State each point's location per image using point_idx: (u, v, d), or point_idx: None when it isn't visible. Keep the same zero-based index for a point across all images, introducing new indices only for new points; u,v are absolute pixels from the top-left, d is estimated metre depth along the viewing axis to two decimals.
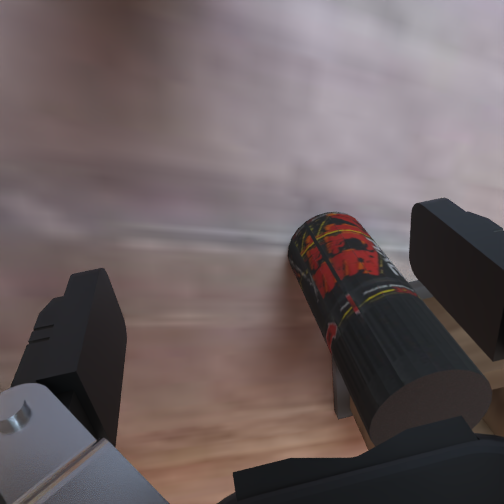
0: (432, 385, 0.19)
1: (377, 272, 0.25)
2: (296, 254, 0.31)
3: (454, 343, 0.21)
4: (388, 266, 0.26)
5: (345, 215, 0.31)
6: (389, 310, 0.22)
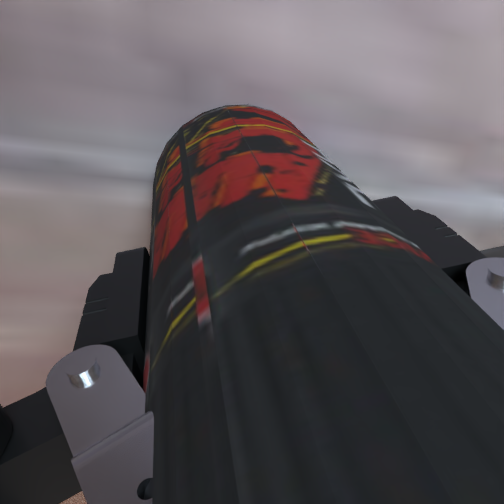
0: None
1: (305, 193, 0.08)
2: (154, 192, 0.14)
3: None
4: (345, 186, 0.09)
5: (267, 111, 0.14)
6: (317, 307, 0.05)
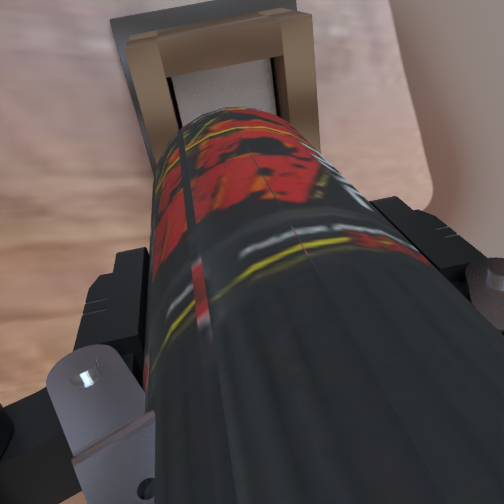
0: None
1: (303, 196, 0.08)
2: (154, 194, 0.14)
3: None
4: (344, 188, 0.09)
5: (267, 113, 0.14)
6: (315, 310, 0.05)
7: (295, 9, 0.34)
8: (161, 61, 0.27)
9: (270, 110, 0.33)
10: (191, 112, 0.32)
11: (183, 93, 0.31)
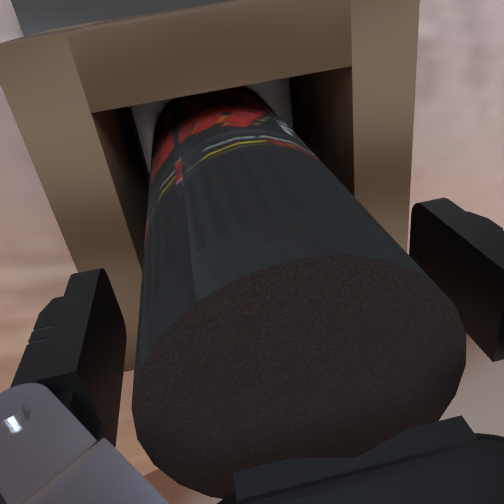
0: (288, 308, 0.07)
1: (247, 124, 0.13)
2: None
3: (373, 221, 0.08)
4: (277, 124, 0.14)
5: None
6: (236, 164, 0.10)
7: None
8: (79, 76, 0.12)
9: None
10: None
11: (146, 114, 0.19)
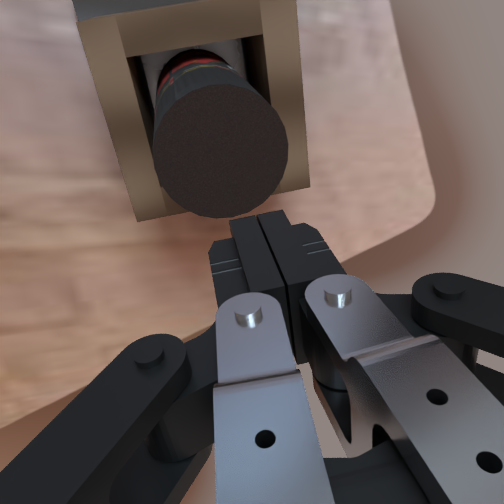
0: (210, 107, 0.18)
1: (207, 62, 0.24)
2: None
3: (252, 88, 0.20)
4: (225, 64, 0.25)
5: (210, 51, 0.30)
6: (197, 71, 0.21)
7: None
8: (121, 37, 0.23)
9: None
10: None
11: (152, 71, 0.31)
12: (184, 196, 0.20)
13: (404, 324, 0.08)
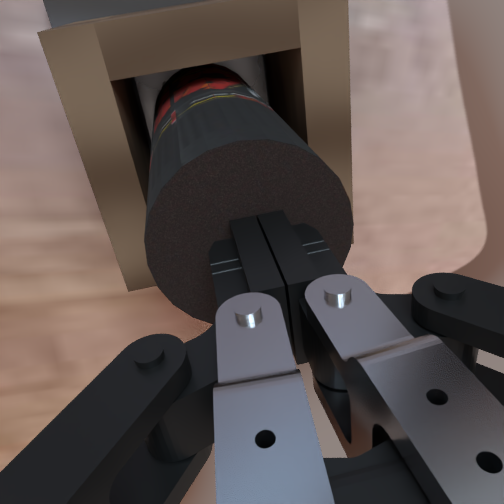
0: (236, 174, 0.11)
1: (223, 87, 0.17)
2: (154, 113, 0.23)
3: (297, 136, 0.13)
4: (247, 89, 0.18)
5: (223, 66, 0.24)
6: (212, 107, 0.14)
7: None
8: (102, 53, 0.17)
9: None
10: None
11: (148, 91, 0.24)
12: (193, 301, 0.13)
13: (404, 324, 0.08)
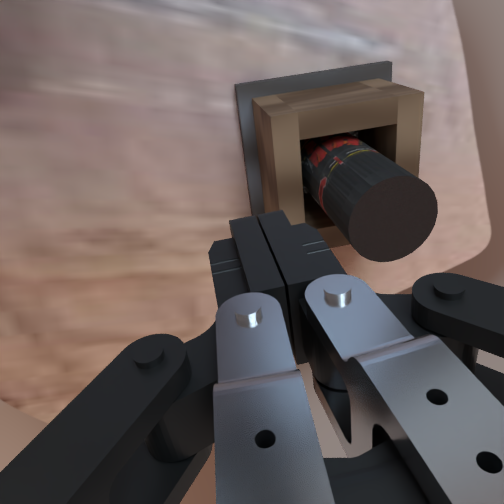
0: (392, 189, 0.27)
1: (357, 144, 0.33)
2: None
3: None
4: (366, 144, 0.34)
5: None
6: (364, 157, 0.30)
7: (390, 80, 0.40)
8: (298, 126, 0.32)
9: None
10: None
11: None
12: (363, 247, 0.28)
13: (404, 324, 0.08)
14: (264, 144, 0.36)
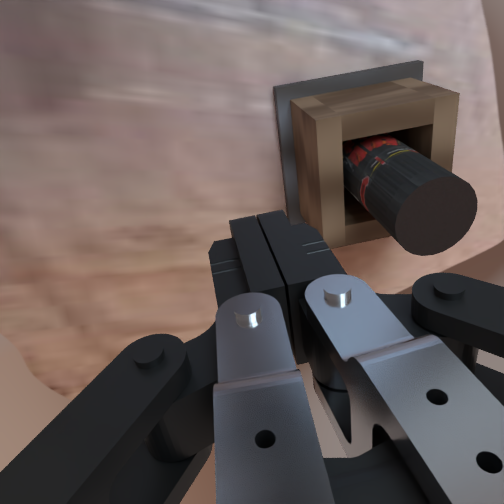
0: (436, 189, 0.29)
1: (396, 144, 0.35)
2: None
3: None
4: None
5: None
6: (406, 158, 0.32)
7: (421, 78, 0.41)
8: (341, 128, 0.34)
9: None
10: None
11: None
12: (407, 242, 0.31)
13: (404, 324, 0.08)
14: (304, 144, 0.38)
